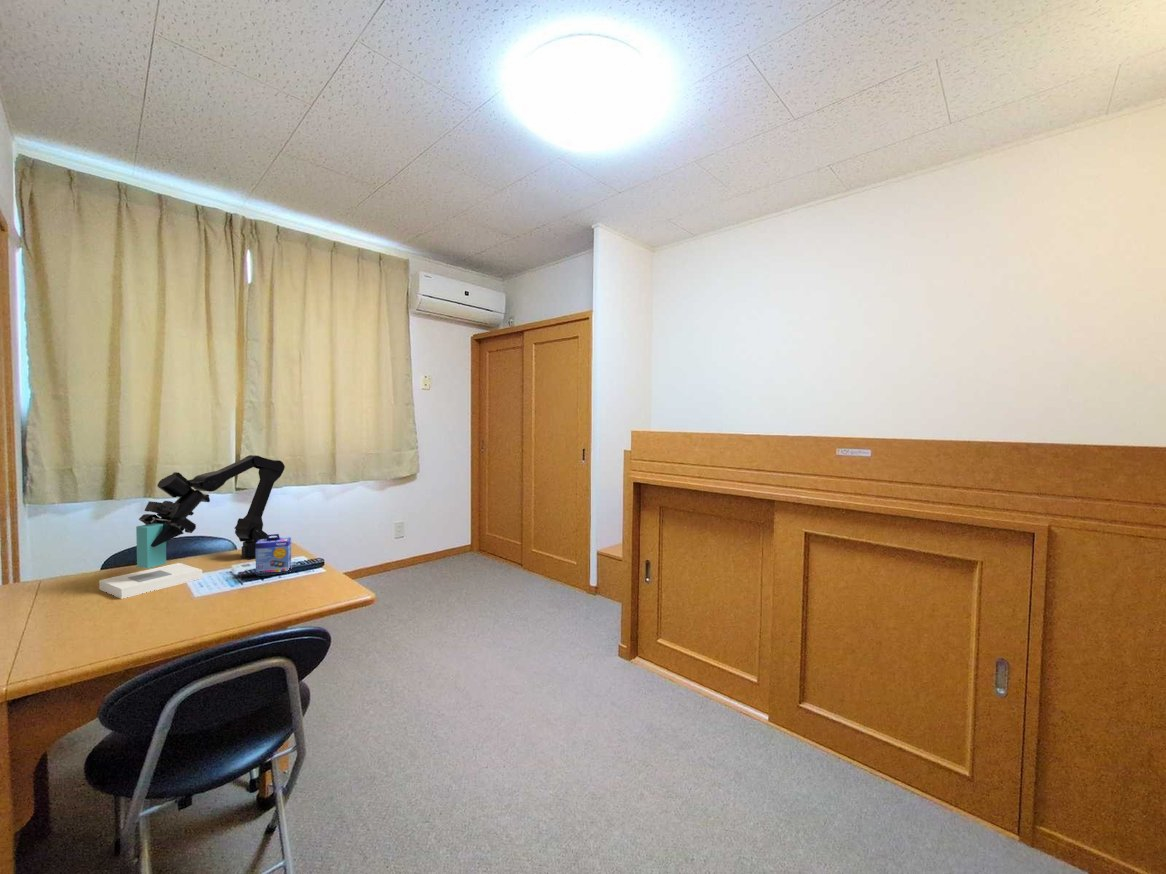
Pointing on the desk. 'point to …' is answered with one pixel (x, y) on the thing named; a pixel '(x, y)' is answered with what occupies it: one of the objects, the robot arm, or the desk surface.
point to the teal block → (149, 546)
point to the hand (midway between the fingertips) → (146, 545)
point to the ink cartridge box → (273, 554)
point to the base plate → (150, 580)
